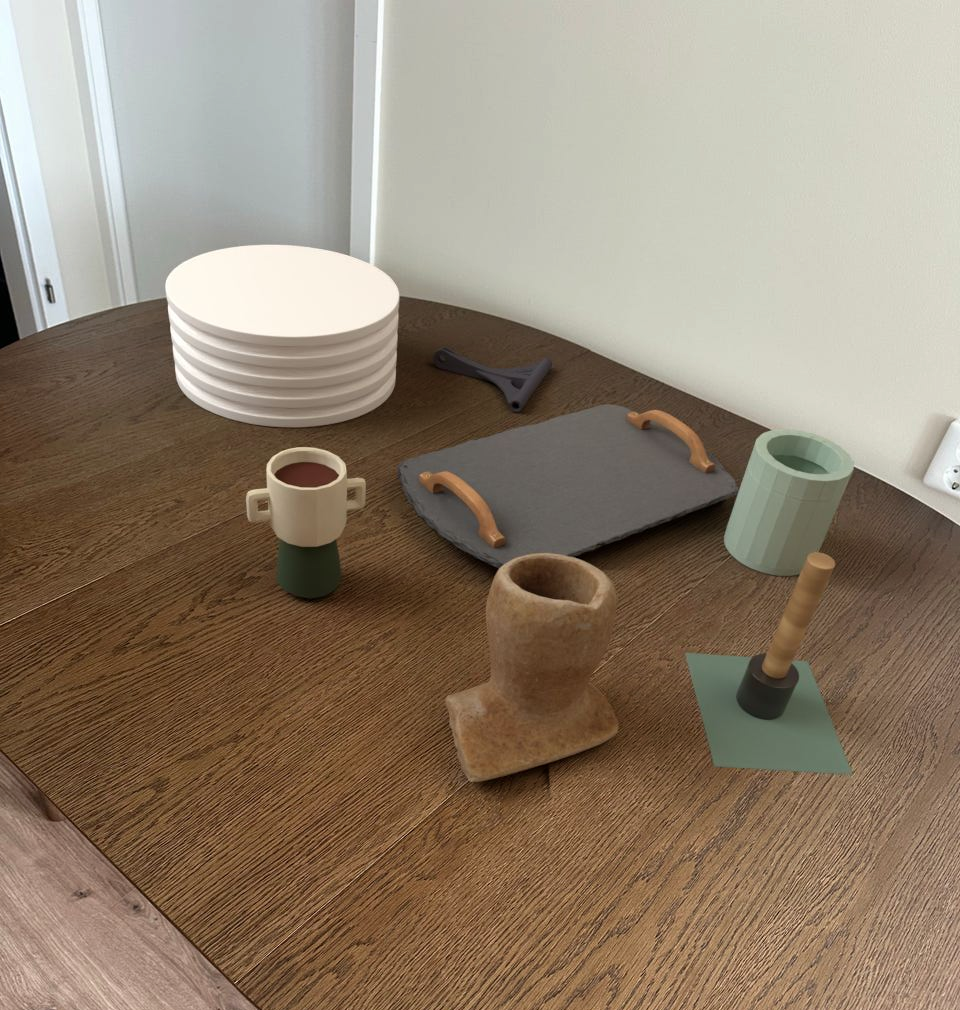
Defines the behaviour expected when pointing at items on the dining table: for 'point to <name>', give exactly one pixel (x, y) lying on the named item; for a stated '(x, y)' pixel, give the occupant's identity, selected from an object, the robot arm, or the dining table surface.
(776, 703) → the wood and black rod
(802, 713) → the mat
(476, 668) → the dining table surface
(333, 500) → the character mug
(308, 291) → the plate stack
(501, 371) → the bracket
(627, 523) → the serving tray
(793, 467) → the jar
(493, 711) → the stone cup
